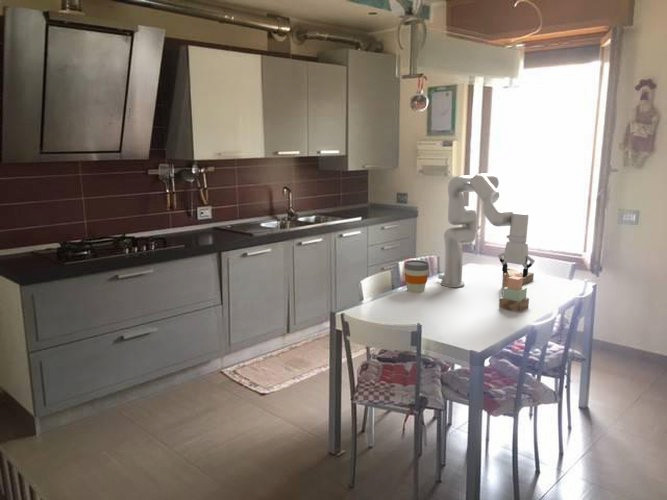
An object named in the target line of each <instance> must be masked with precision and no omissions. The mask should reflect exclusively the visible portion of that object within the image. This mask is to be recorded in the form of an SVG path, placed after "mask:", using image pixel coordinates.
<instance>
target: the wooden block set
mask: <svg viewBox="0 0 667 500" xmlns="http://www.w3.org/2000/svg"><path fill="white" fill-rule="evenodd" d="M507 270H514V269H513V268H509V267H507ZM519 272H520V271H519ZM520 273H521V275H522V278H523V282H522V286H523V285H526V284H529V283H531V282H533V281H534V276H535V274H534V273H533V272H529V271H528V275H527V276H526V277H523V272H520Z"/></svg>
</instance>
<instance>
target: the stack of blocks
mask: <svg viewBox="0 0 667 500" xmlns="http://www.w3.org/2000/svg"><path fill="white" fill-rule="evenodd" d="M521 273H522V272H521ZM521 273H520V271H519V270H518V269H513V270H507V273H503V272H502V283H501V284H502V287H501V288H502V289H503V288H505V287H507V285H508V278H509V277H511V276H516V277H522V275H521Z"/></svg>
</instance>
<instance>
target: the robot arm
mask: <svg viewBox="0 0 667 500" xmlns="http://www.w3.org/2000/svg"><path fill="white" fill-rule="evenodd" d="M499 184H500V181H499V178H498V176H497V175H495V174H493V173H478V174H474V175H458V176H453V177H452V178H450V180H449V181H448V184H447V194H448V207H447V208H448V209H447V210H448V211H447V221H448V223H449V224H450V225H453V226H454V227H450V228H447V229H446V230H445V232H444V234H443V239H444V250H445V251H444V268H443V270H444V272H443V274H438V276H437V279H440V280H441V281H440V284H441V286H444V287H448V288H462V287H464V286H465V282H464V281H462V280H463V278H462V277H463V261H464V252H463V249H462V245H469V244H472V243H473V242H474V241H475V240H476V237H477V223H478V215H477V211H476V210H475V208H474V207H472V206H466V198H465V196H464V194H463V193H471V192H473V193H474V192H475V194H477V196H478V198H480V200H481V201H482V202H483V204H482V210H483V214H484V216H485V218H486V219H487V220H488V222H490V224H491V225H492V226H495V227H509V234H508V235H506V239H508V240H507V241H506V244H505V247H504V252H503V253H499V254H498V255H497V257H498V260H499V262H500V263H501V265H502V269H501V270H502V274H503V273H507V268H509V265H508V264H514V265H520V266H521V265H522V267H523V269H522V274H523V277H526V276H527V275H528V272H529V268H530V267H532V266H533V265H534V263H535V261H536V260H535V259H533V258H532V257H531V256H529V247H528V242H527V239H528V238H527V235H528V226H529V225H528V224H529V214H528V213H527V212H523V211H518V210H516V209H499V210H498V209H497V208H496V206H495V205H494V204H495V203H496V202H497V201H498V200H499V198H500V192H499V191H498V190H497V188H499ZM461 225H462V226H461ZM528 262H529V263H528Z"/></svg>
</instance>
